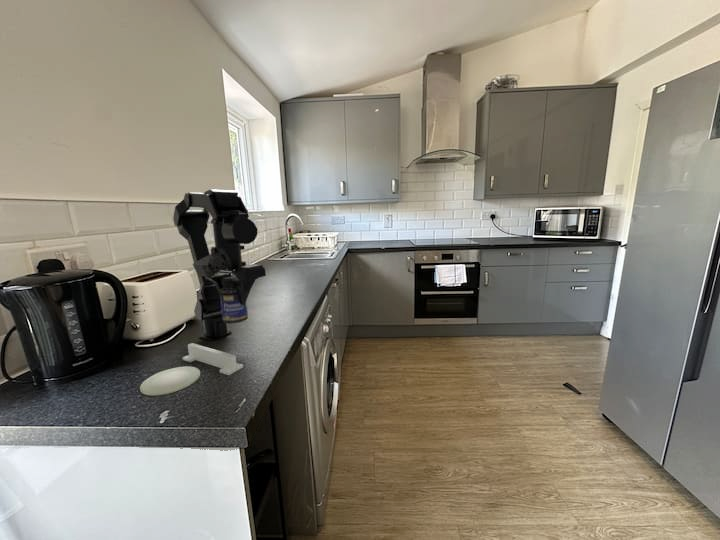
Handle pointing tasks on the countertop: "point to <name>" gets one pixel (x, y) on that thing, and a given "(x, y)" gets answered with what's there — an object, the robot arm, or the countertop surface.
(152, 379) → the pad
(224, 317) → the pill bottle
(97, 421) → the countertop surface
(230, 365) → the low wall
